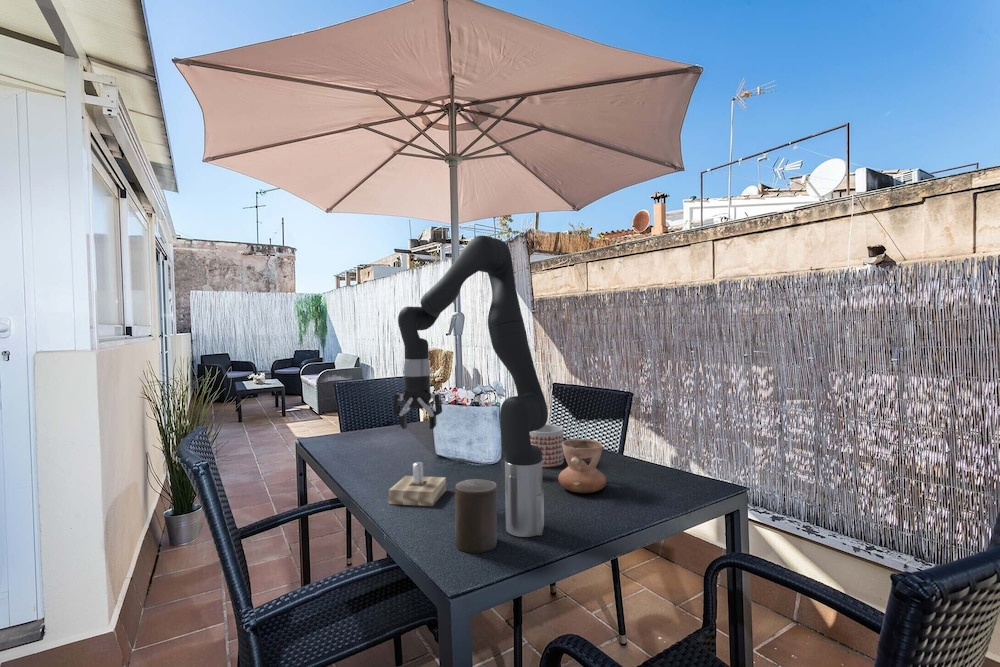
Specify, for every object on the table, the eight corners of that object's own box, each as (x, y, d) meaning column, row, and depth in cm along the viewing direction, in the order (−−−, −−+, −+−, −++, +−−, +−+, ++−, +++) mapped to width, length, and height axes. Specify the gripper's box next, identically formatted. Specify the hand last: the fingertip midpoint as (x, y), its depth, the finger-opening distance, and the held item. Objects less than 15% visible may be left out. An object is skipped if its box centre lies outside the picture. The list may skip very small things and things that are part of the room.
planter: (533, 469, 167) (532, 433, 167) (521, 459, 180) (520, 425, 180) (569, 466, 171) (569, 430, 170) (555, 456, 184) (554, 423, 184)
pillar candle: (469, 557, 105) (469, 489, 104) (447, 541, 112) (447, 478, 112) (505, 545, 110) (505, 481, 110) (482, 531, 118) (482, 470, 118)
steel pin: (425, 495, 143) (424, 462, 143) (421, 498, 140) (420, 465, 140) (415, 494, 144) (414, 461, 144) (411, 498, 141) (411, 464, 141)
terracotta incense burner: (598, 502, 136) (598, 452, 136) (550, 494, 142) (550, 446, 142) (613, 484, 152) (613, 439, 152) (569, 477, 159) (569, 434, 158)
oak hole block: (445, 490, 147) (445, 477, 147) (432, 506, 135) (432, 492, 135) (405, 488, 150) (405, 475, 150) (389, 503, 137) (388, 489, 137)
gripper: (443, 372, 144) (444, 426, 144) (399, 372, 147) (400, 425, 147) (436, 375, 137) (437, 432, 137) (389, 375, 139) (390, 431, 140)
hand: (418, 428), depth 142 cm, fingers open, 8 cm apart
